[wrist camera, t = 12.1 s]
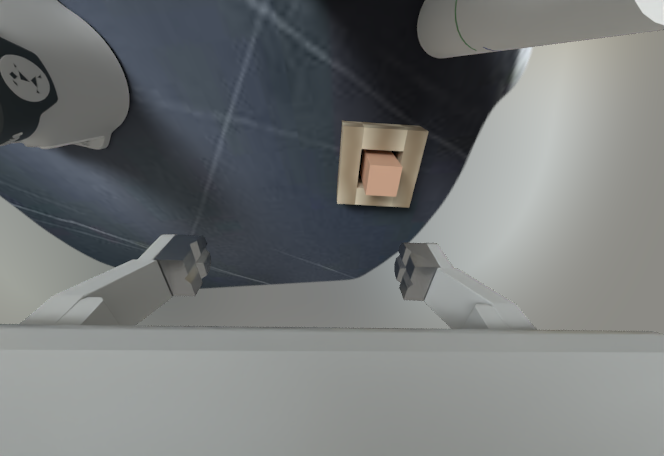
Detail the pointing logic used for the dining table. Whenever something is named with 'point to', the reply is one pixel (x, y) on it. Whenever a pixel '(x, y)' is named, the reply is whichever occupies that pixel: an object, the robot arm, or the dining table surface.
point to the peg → (380, 172)
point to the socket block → (379, 137)
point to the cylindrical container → (528, 23)
